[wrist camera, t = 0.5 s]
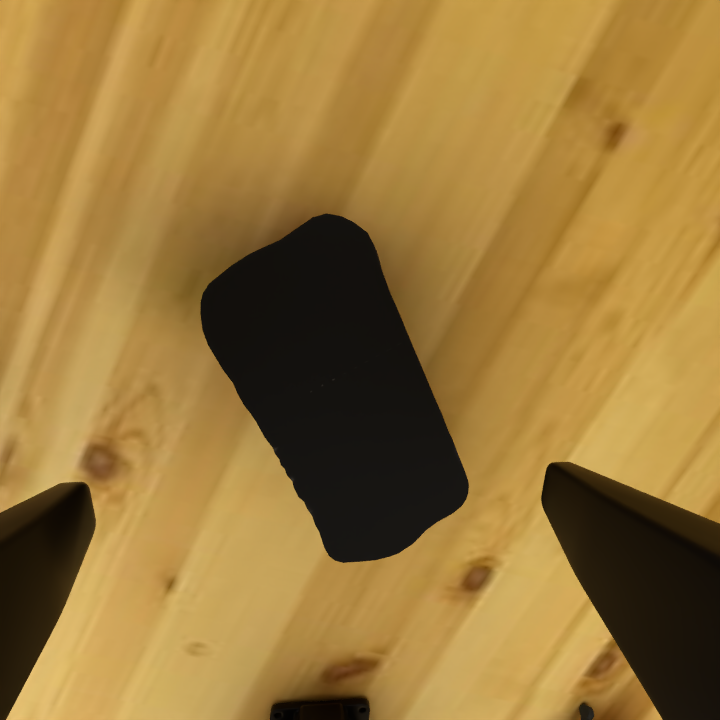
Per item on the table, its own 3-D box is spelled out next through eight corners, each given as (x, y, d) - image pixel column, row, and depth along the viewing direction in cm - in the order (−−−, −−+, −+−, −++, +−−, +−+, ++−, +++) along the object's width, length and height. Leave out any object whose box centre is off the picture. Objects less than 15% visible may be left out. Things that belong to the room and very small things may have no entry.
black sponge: (195, 282, 21) (173, 291, 18) (354, 209, 21) (363, 204, 18) (335, 535, 26) (340, 582, 23) (465, 476, 26) (490, 513, 22)
